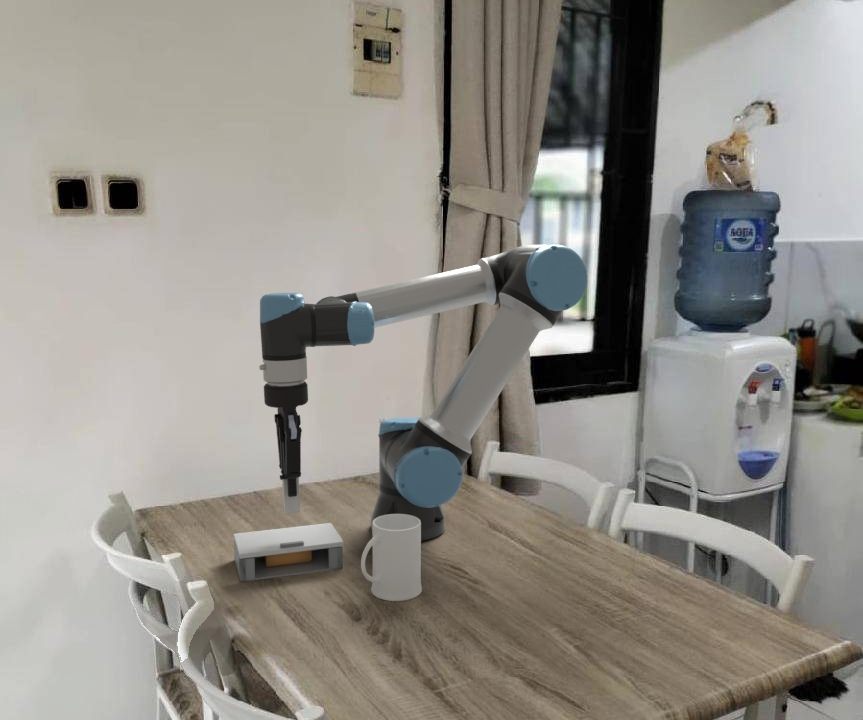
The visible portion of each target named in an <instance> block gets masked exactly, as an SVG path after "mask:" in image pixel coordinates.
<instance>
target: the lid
mask: <svg viewBox="0 0 863 720" xmlns="http://www.w3.org/2000/svg"><path fill="white" fill-rule="evenodd" d="M234 540H235V544H236V547H237V551H238V554H239V558H240V559H243V558H251V557H259V556H267V555H275V554H283V553H291V552H299V551H307V550H316V549H324V548H332V547H340V546H343V547H344V540H343V539H342V538H341V535H340V534H339V532H338V531H337V530H336V528H335V527H334V526H333V524H332V522H327V523H318V524H310V525H309V524H308V525H297V526H290V527H282V528H274V529H273V528H271V529H263V530H254V531H247V532H239V533H233V541H234Z"/></svg>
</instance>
